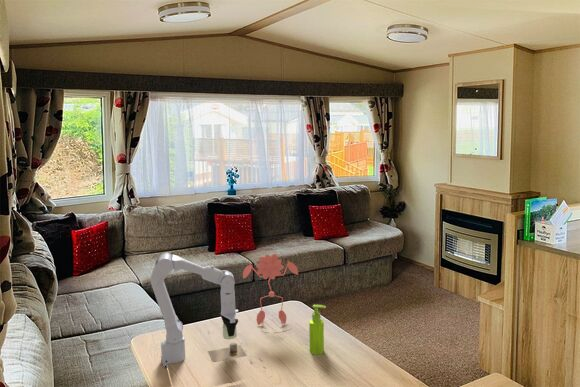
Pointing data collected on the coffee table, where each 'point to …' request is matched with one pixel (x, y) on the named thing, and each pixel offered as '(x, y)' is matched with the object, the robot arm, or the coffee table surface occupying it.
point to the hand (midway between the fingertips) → (229, 333)
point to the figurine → (270, 269)
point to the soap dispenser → (316, 331)
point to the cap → (225, 333)
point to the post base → (227, 353)
